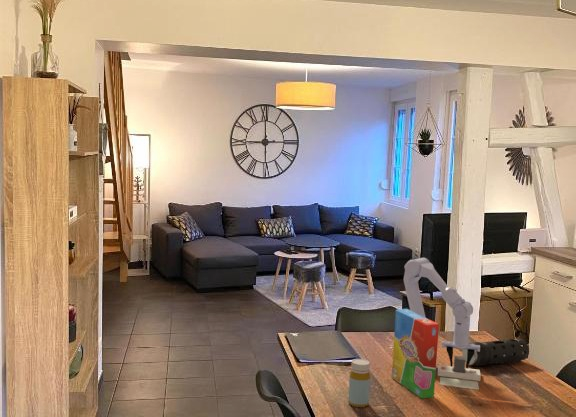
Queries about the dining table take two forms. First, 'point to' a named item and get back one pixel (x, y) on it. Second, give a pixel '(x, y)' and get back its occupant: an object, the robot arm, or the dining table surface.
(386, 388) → the dining table surface
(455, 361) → the block
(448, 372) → the socket strip
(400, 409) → the dining table surface
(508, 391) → the dining table surface
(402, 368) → the game box
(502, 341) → the muzzle brake
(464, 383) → the sage mat
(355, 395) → the bottle
